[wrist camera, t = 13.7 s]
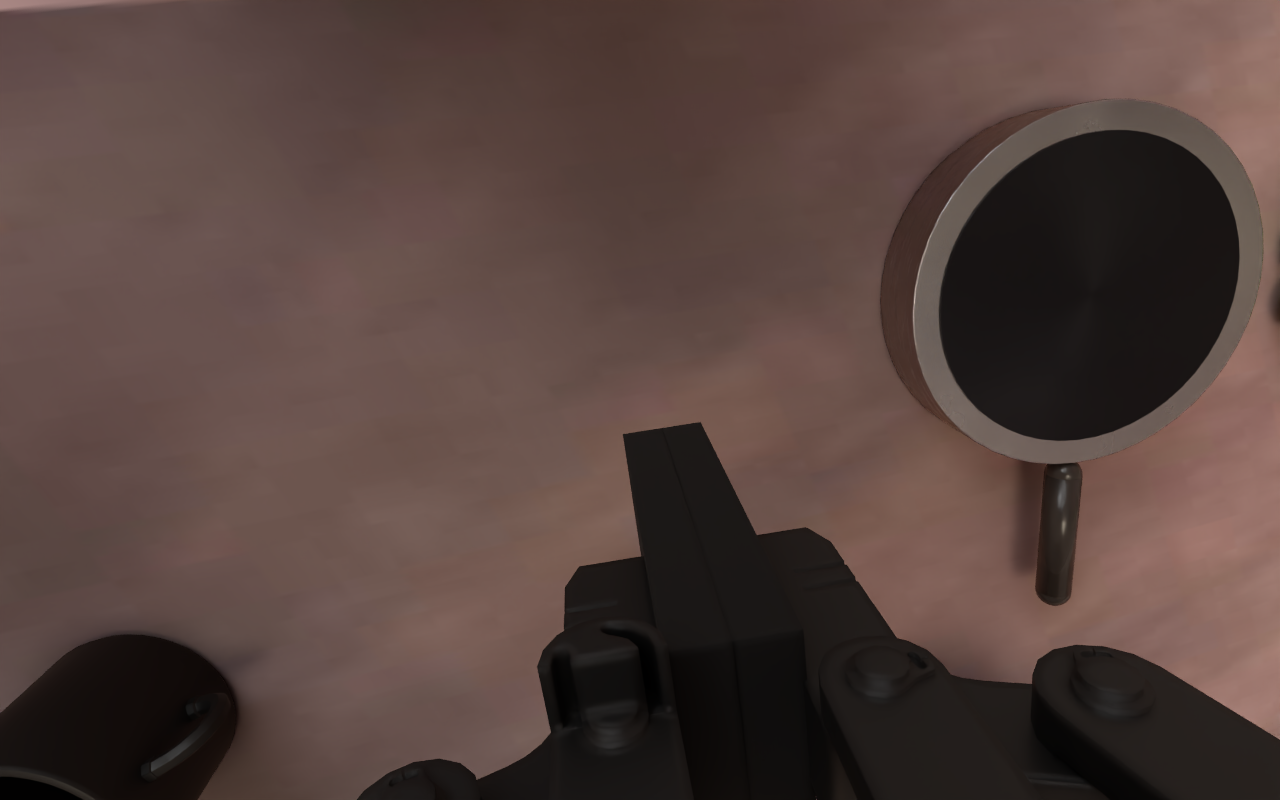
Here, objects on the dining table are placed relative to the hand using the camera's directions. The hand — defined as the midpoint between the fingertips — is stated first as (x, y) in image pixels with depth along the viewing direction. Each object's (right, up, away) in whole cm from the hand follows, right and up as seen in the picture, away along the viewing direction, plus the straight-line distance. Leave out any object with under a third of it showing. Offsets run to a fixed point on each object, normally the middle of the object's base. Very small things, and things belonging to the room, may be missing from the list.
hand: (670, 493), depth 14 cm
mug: (-25, -14, +24) cm, 37 cm away
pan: (+19, +4, +22) cm, 30 cm away
